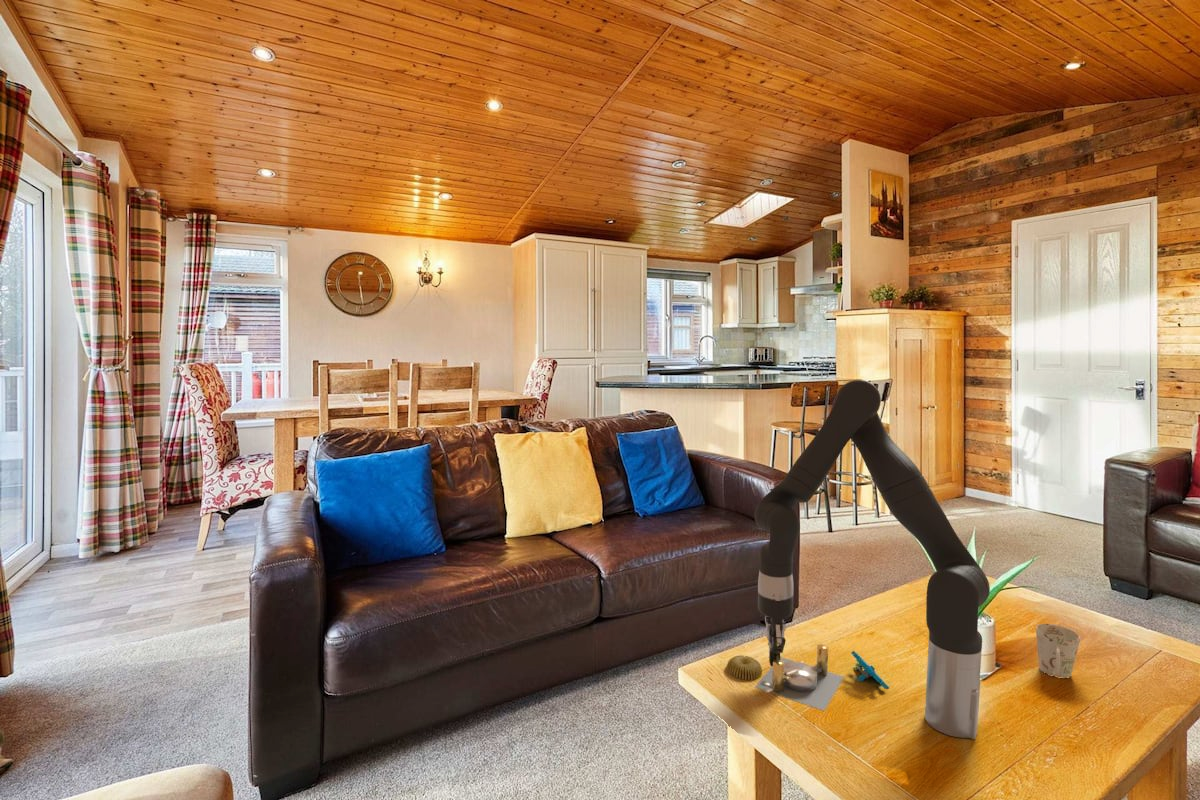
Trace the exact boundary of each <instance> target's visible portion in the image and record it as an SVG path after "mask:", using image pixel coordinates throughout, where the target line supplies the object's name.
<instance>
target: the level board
mask: <svg viewBox="0 0 1200 800" xmlns="http://www.w3.org/2000/svg"><path fill="white" fill-rule="evenodd" d="M780 660H781V661H783V662H784V663H785V662H796V661H794V660H791V659H788V658H785V657H781V656H780ZM800 662H801V663H804V660H801V661H800ZM772 678H773V666H770V669H769V670H768V671H766V673H765V674H764V676H763V677H762V678H761V679H760V680H759V681H758V683H757V684H756V685H755V688H757V689H759V690H762V691H765V692H766V693H771V694H774V695H777V696H780V697H782V698H785V699H788V700H791V701H794V702H797V703H800V704H802V705H806V706H809V707H810V708H814V709H818V710H819V711H822V712H823V711H824V712H825V711H826V710H827V708H828V705H829V704H830V702H831V700H832V699H833V697H834V696H835V694H836V692H837V690H838V689H839V687H840V685H841V683H842V682H843V679H844V678H845V676H844V675H840V674H837V673H834V672H831V671H828V672H827V674H826V675H822V674H819V673H817V686H816V688H815V689H813V690H810V691H797V690H793V689H790V688H788V687H786V686H784V690H783V691H782V692H777V691H774V690H773V689H772Z"/></svg>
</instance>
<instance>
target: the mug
mask: <svg viewBox="0 0 1200 800" xmlns="http://www.w3.org/2000/svg"><path fill="white" fill-rule="evenodd" d="M1035 634H1036V647H1037V658H1038V669H1039V671H1041V672H1042V671H1043V672H1044V673H1043V672H1042V673H1043V674H1045V673H1047V674H1049V675H1053V676H1057V677H1063V678H1067V677H1070V676H1071V677H1072V673H1073V670H1074V666H1075V662H1076V658H1077V654H1078V650H1079V646H1080V642H1081V636H1080V634H1079V633H1078V632H1077V631H1075V630H1073V629H1071V628H1068V627H1065V626H1062V625H1057V624H1053V623H1052V624H1051V623H1040V624H1037V625H1036V626H1035ZM1047 674H1046V675H1047ZM1049 675H1048V676H1049ZM1071 677H1070V678H1071Z"/></svg>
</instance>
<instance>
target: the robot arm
mask: <svg viewBox="0 0 1200 800" xmlns="http://www.w3.org/2000/svg"><path fill="white" fill-rule="evenodd" d="M879 391H880V390H879V389H878V387H877V386H876V385H874V384H873V383H872V382H870V381H868V380H865V379H854V380H851V381H848V382H846V383H844V384H843V385H842V386H841V387H840V388H839V389H838V391H837V393H836V395H835V396H834V399H833V401H832V408H831V410H830V411H829V414H828V416H827V417H826V420H825V421H824V422H823V424H822V426H821V428H820V429H819V430H818V431H817V433H816V434H815V436H814V437H813V439H812V440H811V441H810V442H809V444H808V445H807V446H806V447H805V448H804V450H803V451H802V453H801V454H800V456H798V458H797V460H795V462H794V464H793V465H792V466H791V468H790V469H789V471H788V472H787V473H786V474H785V477H784V478H783V480H782V481H780V482H779V483H778V484H777V485H776V486H774V487H773V488H772V489H771V490H770V491H769V492H767V494H766V495H765V496H764V497H763V498H762V499H761V500H760V501H759V502H758V504H757V506H756V508H755V511H754V521H755V524H756V525H757V527H758V528H760V529H762V530H763V531H765V532H767V533H768V534H769V541H768V542H766V543H764V544H763V545H761V547H760V550H759V571H758V579H757V580H758V581H757V610H758V611H759V612H760V614H762V615H764V622H765V627H766V628H765V629H766V630H765V632H766V639H767V646H768V649H769V650H768V652H769V655H768V662H769V665H770V667H772V666H773V661H774V660H780V657H781V654H783V652H784V648H785V645H786V638H785V632H786V622H785V621H784V620H785V618H788V617H790V616H792V615H793V612H794V577H793V567H794V566H793V564H794V563H793V558H794V557H793V555H794V552H795V549H796V546H797V544H798V539H799V534H800V529H801V523H800V517H799V515H798V513H797V512H796V511H795V510H794V509H793V507H794V506H795V505H797V504H799V503H808V502H809V501H811V499H812V498H813V496H814V495H815V494H816V492H818V489H820V486H821V485H822V484H823V482H824V480H825V479H826V477H828V475H829V473H830V472H831V469H832V467H834V464H835V463H836V461H837V459H838V458H839V456H840V454H841V453H842V451H843V450H844V448H845V447H846V445H847V444H848V443H849V441H850V440H851V441H852V442H853V444H854V445H855V447H856V448H857V450H858V451H859V453H860V455H861V457H862V459H863V462H864V464H865V466H866V468H867V470H868V473H869V475H870V477H871V478H872V480H873V482H874V484H875V486H876V488H877V490H878V492H879V493H880V495H881V496H880V497H882V499H883V501H884V503H885V504H886V507H887V508H888V510H889V511H890V513H891V514H892V515H893V517H894V518H895V519H896V520H897V521H898V522H899V523H900V525H902V526H903V527H904V528H905V529H906V530H907V531H908V532H909V533H910V534H911V535H913V536H914V538H916V539H917V540H918V542H919V544H921V545H922V547H923V548H924V549H925V551H926V553H927V554H928V557H929V559H930V561H931V562H932V564H933V567H934V568H935V570H936V571H935V572H934V573H932V574H931V576H930V577H929V579H928V582H927V587H926V599H925V600H926V602H925V603H926V605H925V606H926V610H925V611H926V612H925V613H926V615H925V619H926V620H925V621H926V627H927V629H928V633H929V634H928V645H927V647H928V650H927V664H926V665H927V668H926V670H927V671H926V683H925V684H926V685H925V706H924V719H925V721H926V723H927V724H928V725H929V726H930V727H932V728H933V729H934V730H936V731H938V732H939V733H942V734H944V735H948V736H950V737H955V738H962V739H964V738H967V739H968V738H969V739H972V740H976V738H977V732H978V725H979V711H980V710H979V709H980V697H981V696H980V693H981V667H982V666H981V664H982V650H983V637H982V634H981V632H979V630H978V629H979V628H978V627H979V625H978V624H979V622H978V621H979V609H980V607H981V606H982V605H983V604H984V603H985V602H986V601H987V600H988V598H989V596H990V591H991V589H990V587H991V586H990V582H989V580H988V578H987V575H986V574H985V573H984V571H983V569H982V568H981V566H980V565H979V564H978V562H977V560H976V559H975V558H974V557H973V555H972V554H971V552H970V551H969V550H968V549H967V547H966V546H965V544H964V543H963V541H962V540H961V539H960V537H959V536H958V535H957V532H955V530H954V527H953V526H952V524H951V522H950V520H949V518H948V517H947V515H946V513H945V512H944V510H943V508H942V507H941V505H940V503H939V501H938V500H937V497H936V496H935V495H934V493H933V490H932V489H931V488H930V486H929V484H928V482H927V480H926V478H925V477H924V475H923V473H922V472H921V470H920V469H919V468H918V466H917V465H916V463H914V461H913V460H912V459H911V458H910V457H909V455H907V454H906V453H905V451H904V450H902V449H901V448H900V447H899V446H898V445H897V444H896V443H895V442H894V440H892V438H891V436H890V435H889V433H888V431H887V430H886V428H885V426H884V424H883V422H882V420H881V418H880V416H879V414H878V412H879V410H880V407H881V404H882V403H881V401H882V399H881V394H880V392H879Z"/></svg>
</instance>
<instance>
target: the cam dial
mask: <svg viewBox="0 0 1200 800" xmlns="http://www.w3.org/2000/svg"><path fill="white" fill-rule="evenodd" d="M816 649H817V650H816V664H814V665H812V666H811V665H809V664H807V663H804V662H803V663H801V661H795V662H785V663H784V662H783V661H781V660H774V661H773V678H772V689H773V690H774V691H777V692H782V691H783V690H784V686H786V687H788V688H790V689H793V690H797V691H810V690H813V689H815V688H816V686H817V673H819V674H822V675H826V674H827V672H829V671H828V669H829V646H827V645H826V644H818V645H817V646H816Z"/></svg>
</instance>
